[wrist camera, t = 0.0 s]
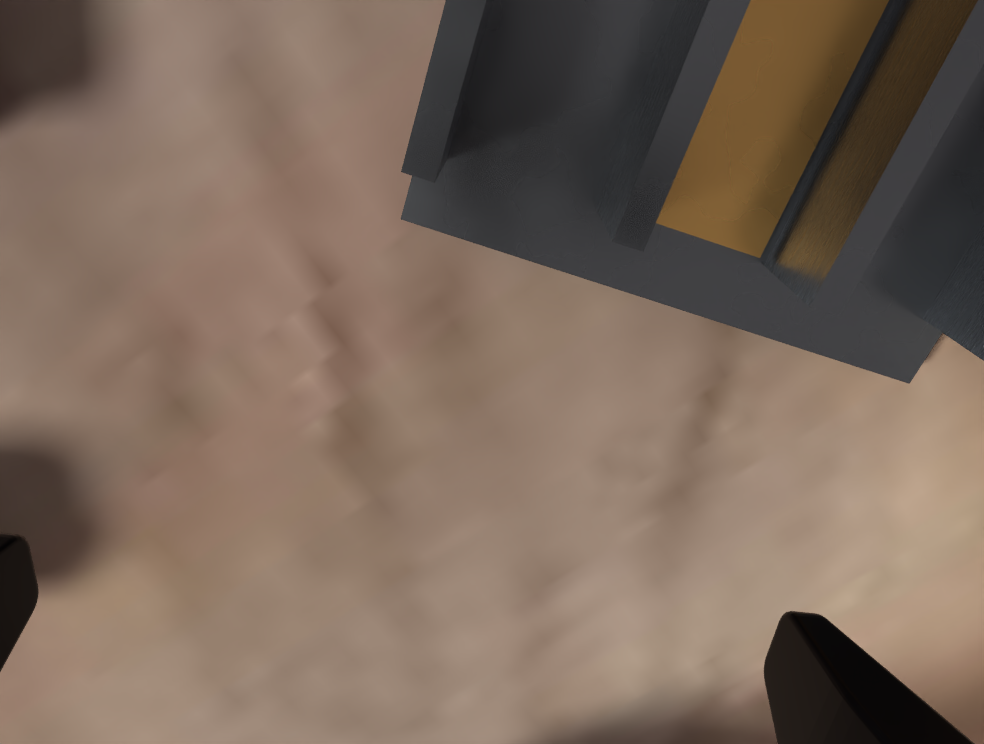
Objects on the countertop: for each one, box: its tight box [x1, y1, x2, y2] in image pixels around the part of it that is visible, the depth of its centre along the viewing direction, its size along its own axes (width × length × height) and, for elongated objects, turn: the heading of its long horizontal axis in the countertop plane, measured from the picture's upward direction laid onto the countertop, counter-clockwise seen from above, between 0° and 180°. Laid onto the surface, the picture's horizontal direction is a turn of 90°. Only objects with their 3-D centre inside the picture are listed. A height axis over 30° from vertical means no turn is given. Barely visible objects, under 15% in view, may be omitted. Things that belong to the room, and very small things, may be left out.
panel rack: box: [401, 0, 984, 383], centre depth 17 cm, size 13×16×4 cm
